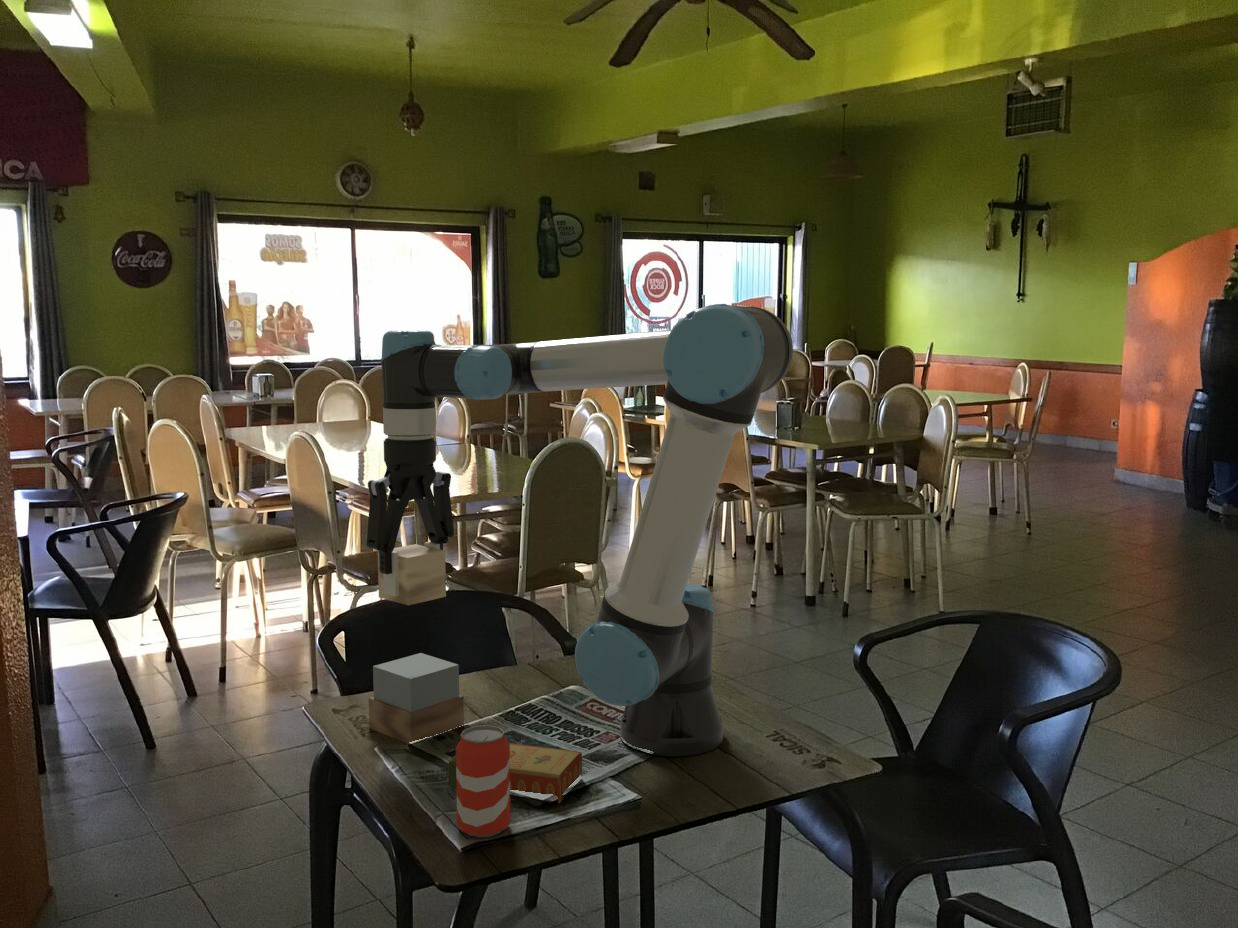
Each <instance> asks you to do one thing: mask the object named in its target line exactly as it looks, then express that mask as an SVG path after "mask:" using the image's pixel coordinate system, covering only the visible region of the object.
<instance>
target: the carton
mask: <svg viewBox="0 0 1238 928" xmlns="http://www.w3.org/2000/svg"><path fill="white" fill-rule="evenodd" d="M509 744H510V790H519V791H525V792H533V793H541V794H553V795H556V796H557V797H558V803H557V804H560V803H561V802H562V801H564V799H565V798H564V797H563V795H562V794H563V793H564V791H565V790H566V789H567V788H568V787H569V786H570V785H571V784H572V783H573V782H574V781H575V780H576V779H577V778H578V777H579V775H580V774H582V775H583V754H582V752H581V751H577V750H570V749H562V748H554V747H553V748H552V747H546V746H545V747H543V746H537V745H527V744H519V743H513V742H509ZM447 778H448V779H447V781H448V786H449V787H450V786H453V787H452V788H455V787H457V783H456V754H455V755H454V756H452V757H451V758H450V759H449V760H448V762H447ZM563 798H564V799H563Z"/></svg>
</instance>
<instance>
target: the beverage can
mask: <svg viewBox="0 0 1238 928" xmlns="http://www.w3.org/2000/svg"><path fill="white" fill-rule="evenodd" d="M505 733H506V731H505V730H504V729H502V728H501V727H499V726H493V725H489V724H487V725H484V724H483V725H473V726H471V727H468V728H465V729H464V730H462V732H461V733H460V740H459V741H458V743H457V745H456V748H455V755H456V783H457V788H456V826H457V827H458V828H459V829H460V830H461V831H462V832H463V833H465V834H467V835H469V836H470V837H471V836H472V837H475V838H479V839H480V838H489V837H493V836H495V835H499V834H501V833H502V832H503V831H505V830H507V829H508V827H509V825H510V823H511V796H510V744H509V743H510V742H509V740H508V739H507V738H506V736H505Z"/></svg>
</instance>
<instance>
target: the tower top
mask: <svg viewBox="0 0 1238 928" xmlns="http://www.w3.org/2000/svg"><path fill="white" fill-rule="evenodd" d="M372 677H373V678H372V681H373V686H372V687H373V697H374V699H377V700H379V701H382V702H385V703H387V704H390V705H393V706H395V707H398V708H401V709H403V710H406V711H408V712H414V711H418V710H421V709H424V708H427V707H430V706H433V705H436V704H439V703H442V702H445V701H448V700H451V699H454V698H458V697H459V695H460V665H459V664H458V663H454V662H452V661H448V660H445V659H442V658H438V657H435V656H432V655H429V654H425V653H423V652H419V653H415V654H412V655H408V656H405V657H401V658H398V659H394V660H391V661H387V662H383V663H380V664H379V663H378V664H376V665H373V666H372Z"/></svg>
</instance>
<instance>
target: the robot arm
mask: <svg viewBox="0 0 1238 928" xmlns="http://www.w3.org/2000/svg"><path fill="white" fill-rule="evenodd" d="M793 344H794V343H793V339H792V336H791V333H790V331H789V329H788V327H787V325H785V323H784V321H782V320H781V318H780V317H779V316H777V315H776V314H774V313H773V312H771V311H769V310H768V309H765V308H763V307H762V308H761V307H758V306H746V305H745V306H743V305H742V306H741V305H731V304H726V303H716V304H709V305H707V306H704V307H700V308H696V309H694V310H692V311H690V312H688V313H687V314H685V315H683V317H682V318H680V319H679V320H678V321H677V322H676V323H675V324H674V326H673V327H672V329H668V330H655V331H646V332H635V333H633V332H632V333H624V334H623V333H622V334H613V335H610V334H608V335H598V336H589V337H588V336H587V337H579V338H577V337H576V338H565V339H556V340H544V341H531V342H520V343H506V344H503V343H502V344H453V345H452V344H449V345H448V344H447V345H445V344H444V345H441V344H436V341H435V335H434V333H433V332H432V331H430V330H388V331H386V332H385V333H384V334H383V336H382V344H381V358H380V364H381V377H382V379H381V380H382V395H383V401H382V402H383V403H382V413H383V414H382V418H383V419H382V420H383V427H382V428H383V434H384V435H385V436H387V437H386V438H384V440H383V462H384V463H385V466H386V470H385V472H384V476H383V477H382V478H379V479H377V480H373V479H370V480H369V481H368V482H367V488H368V493H369V506H368V507H369V508H368V520H367V521H368V523H367V535H366V536H367V537H366V547H367V548H368V549H369V548H370V549H372V550H375V551H377V553H378V552H379V569H380V572H381V573H383V583H384V594H387V595H390V596H394V597H396V596H399V559H398V556H399V552H396V551H393V550H394V548H396V547H395V546H396V543H397V539H398V534H399V531H400V527H401V523H402V521H403V517H404V513H405V509H406V508H408V506H409V503H410V501H411V502H412V501H414V503H416V504H417V508H418V511H419V514H420V516H421V520H422V522H423V526H424V529H425V531H426V534H427V539H428V540H429V541H426V542H424V543H423V544H424V545H423V546H426V547H431V548H435V549H440V550H444V544H447V543H448V541H449V538H452V537H453V536H454V535H455V530H454V529H455V528H454V520H453V512H452V511H453V509H452V502H451V492H450V487H451V482H452V481H451V480H452V474H451V473H449V472H443V471H436V468H435V467H434V463H435V462H436V461H437V460H436V459H437V444H436V443H437V442H436V441H437V440H436V439H435V437H433V435H435V434H436V432H437V429H436V427H437V426H436V424H437V422H436V420H437V419H436V398H452V399H454V398H455V399H471V400H474V401H480V400H483V401H485V400H496V399H499V398H502V397H503V395H518V394H520V395H521V394H531V393H545V392H558V391H573V390H591V389H606V388H607V389H608V388H609V389H610V388H624V387H625V388H627V387H642V386H658V385H666V387H665V390H664V392H663V397H662V399H663V401H664V403H665V405H666V407H667V409H668V410H669V418H668V421H667V425H666V428H665V431H664V434H663V437H662V441H661V445H660V448H659V452H658V454H657V458H656V462H655V465H654V468H653V471H652V475H651V477H650V481H649V484H648V488H647V490H646V494H645V498H644V502H643V504H642V507H641V511H640V513H639V517H638V520H637V524H636V526H635V527H636V528H635V531H634V534H633V537H632V541H631V545H630V548H629V550H628V554H627V556H626V561H625V563H624V567H623V571H622V574H621V578H620V581H618V582H616V583H614V584H611V585H609V586H608V587H607V588H606V589H605V592H604V594H603V597H602V601H601V603H600V607H599V611H598V614H597V616H596V617H597V618H596V620H595V622H594V623H593V624H590V625H588V626H587V627H586V628H585V630H584V631H583V632H582V633H581V635H580V636H579V637H578V640H577V642H576V645H575V649H574V662H575V663H574V664H575V666H576V671H577V672H578V675H579V676H580V677H581V679H582V682H583V685H584V686H585V687H586V688H587V690H589V692H590V693H591V694H592V695H593V696H595V697H596V698H597V699H599V700H601V701H602V702H604V703H607V704H609V705H612V706H617V707H625V708H624V710H623V713H622V716H621V719H620V728H619V731H620V732H619V733H620V734H621V737H622V738H623V739H624V740H625V741H626V742H627V743H629V744H631V745H632V746H635V747H638V748H642V749H647V750H650V751H653V752H654V753H653V755H654V756H660V757H661V756H663V757H686V756H687V757H688V756H695V755H700V754H703V753H707V752H709V751H712V750H715V749H716V748H717V747H718V748H719V746H720V745H721V744H722V743H723V740H724V723H723V721H722V717H721V716H720V712H719V708H718V705H717V700H716V698H715V694H714V691H713V686H712V683H713V682H712V680H713V679H712V677H713V676H712V675H713V673H712V672H713V671H712V670H713V637H714V636H713V635H714V632H713V631H714V628H713V627H714V613H715V609H714V606H713V595H712V593H711V591H710V590H709V589H708V588H706V587H704V586H701V585H696V584H691V583H689V580H690V576H691V574H692V570H693V567H694V564H695V560H696V558H697V554H698V551H699V550H700V549H699V548H700V545H701V542H702V538H703V536H704V533H705V530H706V527H707V523H708V521H709V520H708V519H709V517H710V513H711V510H712V509H713V505H714V502H715V498H716V495H717V492H718V489H719V486H720V483H721V479H722V476H723V473H724V471H725V466H726V464H727V460H728V457H729V454H730V451H731V448H732V445H733V443H734V442H733V441H734V439H735V436H736V434H737V433H738V432H741V431H742V430H744V429H746V428H749V426H751V424H752V422H753V419H754V416H755V412H756V411H757V406H758V403H759V400H760V397H761V394H764V393H766V392H768V391H770V390H771V389H773V388H774V387H776V386H777V385H778V384H779V383H781V381H782V380H783V379H784V378H785V377H786V375H787V373H788V371H789V369H790V367H791V365H792V361H793V356H794V345H793ZM387 493H388V494H387Z"/></svg>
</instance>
